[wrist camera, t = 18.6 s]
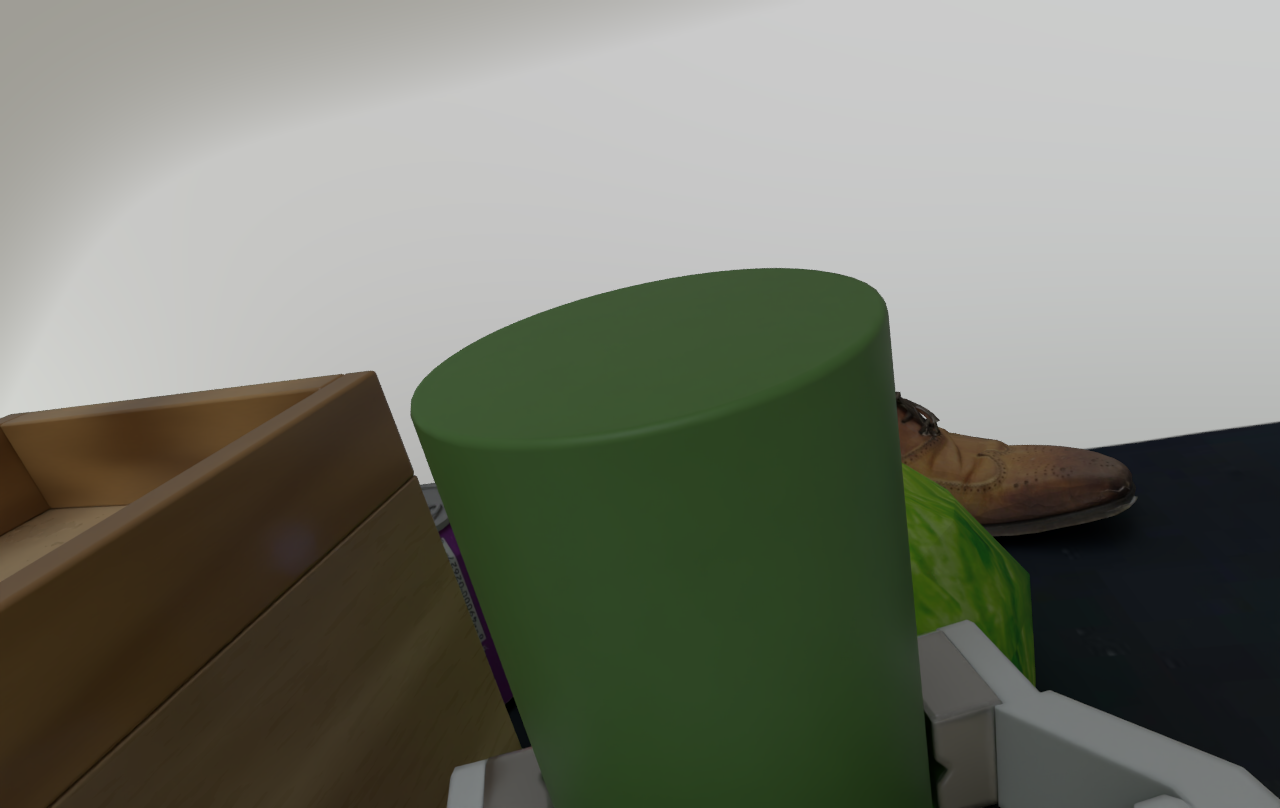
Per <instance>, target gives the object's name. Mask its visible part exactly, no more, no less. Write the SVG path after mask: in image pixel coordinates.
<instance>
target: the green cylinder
mask: <svg viewBox="0 0 1280 808" xmlns="http://www.w3.org/2000/svg"><path fill="white" fill-rule="evenodd" d="M411 418H412V421H413V424H414V426H415V429H416V432H417V435H418V437H419V440H420V443H421V445H422V448H423V451H424V453H425V457H426V459H427V462H428V465H429V467H430V470H431V473H432V476H433V478H434V481H435V484H436V487H437V489H438V492H439V495H440V497H441V500H442V503H443V506H444V508H445V511H446V514H447V517H448V519H449V522H450V525H451V527H452V530H453V533H454V536H455V538H456V541H457V544H458V547H459V549H460V552H461V555H462V557H463V560H464V563H465V566H466V568H467V571H468V574H469V577H470V579H471V582H472V585H473V588H474V590H475V593H476V596H477V598H478V601H479V604H480V607H481V609H482V612H483V615H484V618H485V620H486V623H487V626H488V628H489V631H490V634H491V637H492V639H493V642H494V645H495V648H496V650H497V653H498V656H499V658H500V661H501V664H502V667H503V669H504V672H505V675H506V678H507V680H508V683H509V686H510V688H511V691H512V694H513V697H514V699H515V702H516V705H517V708H518V710H519V713H520V716H521V719H522V721H523V724H524V727H525V729H526V732H527V735H528V738H529V740H530V743H531V746H532V749H533V751H534V754H535V757H536V759H537V762H538V765H539V768H540V770H541V773H542V776H543V779H544V781H545V784H546V787H547V789H548V792H549V795H550V798H551V800H552V803H553V806H554V808H933V807H932V796H931V785H930V774H929V763H928V752H927V740H926V729H925V718H924V707H923V696H922V685H921V673H920V662H919V651H918V640H917V629H916V618H915V606H914V595H913V584H912V573H911V562H910V550H909V539H908V528H907V517H906V506H905V495H904V483H903V472H902V461H901V450H900V439H899V428H898V416H897V405H896V394H895V383H894V372H893V361H892V349H891V338H890V327H889V316H888V310H887V306H886V303H885V301H884V300H883V298H882V297H881V296H880V294H879V293H878V292H877V290H876V289H874V288H873V287H871V286H870V285H868V284H867V283H865V282H862V281H860V280H857V279H855V278H852V277H848V276H844V275H840V274H836V273H830V272H823V271H817V270H807V269H790V268H762V269H743V270H730V271H719V272H711V273H703V274H695V275H688V276H682V277H676V278H670V279H665V280H659V281H654V282H649V283H644V284H640V285H635V286H630V287H627V288H622V289H618V290H614V291H610V292H606V293H602V294H598V295H595V296H591V297H588V298H584V299H581V300H578V301H574V302H571V303H568V304H565V305H562V306H559V307H556V308H553V309H550V310H547V311H544V312H541V313H539V314H536V315H533V316H531V317H528V318H526V319H523V320H521V321H518V322H516V323H513V324H511V325H509V326H507V327H504V328H502V329H500V330H497V331H496V332H493V333H491V334H489V335H487V336H485V337H483V338H481V339H479V340H477V341H476V342H474V343H472V344H470V345H468V346H467V347H465V348H463V349H462V350H460V351H459V352H457V353H456V354H454V355H452V356H451V357H449V358H448V359H447V360H445V361H444V362H443V363H441V364H440V365H439V366H437V367H436V368H435V369H434V370H433V371H431V373H429V374H428V376H426V377H425V378H424V379H423V381H422V382H421V383H420V384H419V386H418V387H417V388H416V390H415V392H414V395H413V397H412V399H411Z"/></svg>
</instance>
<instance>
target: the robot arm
mask: <svg viewBox="0 0 1280 808" xmlns="http://www.w3.org/2000/svg"><path fill="white" fill-rule="evenodd" d="M917 640H918V651H919V662H920V673H921V685H922V696H923V707H924V718H925V729H926V740H927V752H928V763H929V774H930V785H931V796H932V805H933V807H934V808H982V807H985V806H989V805H993V804H996V803H999V807H1001V808H1280V799H1279V798H1277V797H1276V796H1275V795H1274V794H1273V793H1272V792H1271V791H1269V790H1268V789H1267V788H1266V787H1265V786H1264V785H1263V784H1261V783H1260V782H1259V781H1258V780H1257V779H1256V778H1255V777H1253V776H1252V775H1251V774H1250V773H1249V772H1248V771H1247V770H1245V769H1244V768H1243V767H1241V766H1238V765H1236V764H1233V763H1231V762H1228V761H1226V760H1223V759H1221V758H1218V757H1216V756H1213V755H1211V754H1208V753H1206V752H1203V751H1201V750H1198V749H1196V748H1193V747H1191V746H1188V745H1186V744H1183V743H1181V742H1178V741H1176V740H1173V739H1171V738H1168V737H1166V736H1163V735H1161V734H1158V733H1156V732H1153V731H1151V730H1148V729H1146V728H1143V727H1141V726H1138V725H1136V724H1133V723H1131V722H1128V721H1126V720H1123V719H1121V718H1118V717H1116V716H1113V715H1111V714H1108V713H1106V712H1103V711H1101V710H1098V709H1096V708H1093V707H1091V706H1088V705H1086V704H1083V703H1081V702H1078V701H1076V700H1073V699H1071V698H1068V697H1066V696H1063V695H1061V694H1058V693H1056V692H1053V691H1051V690H1049V691H1045V692H1041V693H1040V692H1039V691H1038V690H1037V689H1036V688H1035V687H1034V686H1033V685H1032V684H1031V682H1030V681H1029V680H1028V679H1027V678H1026V677H1025V676H1024V675H1023V674H1022V673H1021V672H1020V671H1019V670H1018V669H1017V668H1016V667H1015V666H1014V665H1013V663H1012V662H1011V661H1010V660H1009V659H1008V658H1007V657H1006V656H1005V655H1004V654H1003V653H1002V652H1001V651H1000V650H999V649H998V648H997V647H996V646H995V644H994V643H993V642H992V641H991V640H990V639H989V638H988V637H987V636H986V635H985V634H984V633H983V632H982V631H981V630H980V629H979V628H978V627H977V625H976V624H975V623H973V622H971V621H969V620H964V621H961V622H957V623H954V624H951V625H947V626H944V627H941V628H938V629H936V630H931V631H928V632H925V633H921V634H918V635H917ZM447 808H554V806H553V803H552V800H551V798H550V795H549V792H548V789H547V787H546V784H545V781H544V779H543V776H542V773H541V770H540V768H539V765H538V762H537V759H536V757H535V754H534V751H533V749H532V746H531V747H528V748H524V749H520V750H516V751H512V752H508V753H505V754H501V755H497V756H493V757H489V758H488V759H485V760H481V761H477V762H473V763H469V764H465V765H462V766H458V767H455V768H454V771H453V773H452V775H451V777H450V784H449V793H448V801H447Z"/></svg>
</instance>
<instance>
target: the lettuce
mask: <svg viewBox="0 0 1280 808" xmlns="http://www.w3.org/2000/svg"><path fill="white" fill-rule="evenodd" d="M902 472H903V483H904V495H905V506H906V517H907V528H908V539H909V550H910V562H911V573H912V584H913V595H914V606H915V618H916V629H917V635H918V634H921V633H925V632H928V631H931V630H936V629H938V628H941V627H944V626H947V625H951V624H954V623H957V622H961V621H964V620H969V621H971V622H973V623H975V624H976V625H977V627H978V628H979V629H980V630H981V631H982V632H983V633H984V634H985V635H986V636H987V637H988V638H989V639H990V640H991V641H992V642H993V643H994V644H995V646H996V647H997V648H998V649H999V650H1000V651H1001V652H1002V653H1003V654H1004V655H1005V656H1006V657H1007V658H1008V659H1009V660H1010V661H1011V662H1012V663H1013V665H1014V666H1015V667H1016V668H1017V669H1018V670H1019V671H1020V672H1021V673H1022V674H1023V675H1024V676H1025V677H1026V678H1027V679H1028V680H1029V681H1030V682H1031V684H1032V685H1033V686H1034V687H1035V659H1034V642H1033V624H1032V607H1031V590H1030V574H1029V573H1028V572H1027V571H1026V570H1025V569H1024V568H1023V567H1022V566H1021V565H1020V564H1019V563H1018V562H1017V561H1016V560H1015V559H1014V558H1013V557H1012V556H1011V555H1010V554H1009V553H1008V552H1007V551H1006V550H1005V549H1004V548H1003V547H1002V546H1001V545H1000V544H999V543H998V542H997V541H996V540H995V539H994V538H993V536H992V535H991V534H990V533H989V532H988V531H987V530H986V529H985V528H984V527H983V526H982V525H981V524H980V523H979V522H978V521H977V520H976V519H975V518H974V517H973V516H972V515H971V514H970V513H969V512H968V511H967V510H966V509H965V508H964V507H963V506H962V505H961V504H960V503H959V502H958V501H957V500H956V499H955V498H954V496H953V495H952V494H951V493H950V492H949V491H948V490H947V489H945V488H944V487H942V486H940V485H939V484H937V483H935V482H934V481H932V480H930V479H929V478H927V477H925V476H924V475H922V474H920V473H919V472H917V471H915V470H913V469H912V468H910V467H908V466H907V465H905V464H903V463H902ZM932 807H933V805H932ZM933 808H934V807H933Z"/></svg>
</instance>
